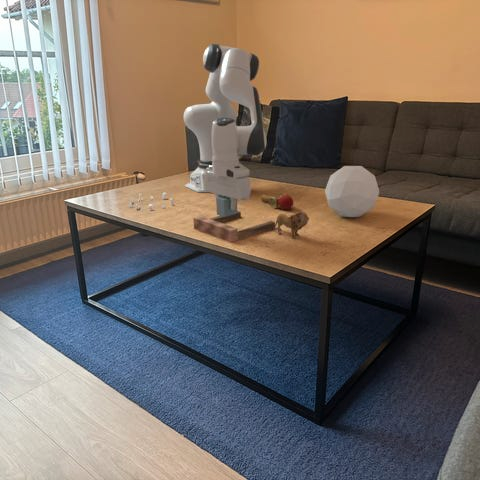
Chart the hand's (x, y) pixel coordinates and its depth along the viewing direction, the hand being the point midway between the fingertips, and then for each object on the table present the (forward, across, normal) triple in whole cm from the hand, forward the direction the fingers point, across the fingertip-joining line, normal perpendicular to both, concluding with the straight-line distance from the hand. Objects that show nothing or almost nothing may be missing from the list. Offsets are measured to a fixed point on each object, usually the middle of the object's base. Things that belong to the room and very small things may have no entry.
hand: (226, 208), depth 159 cm
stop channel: (+8, 0, +3) cm, 9 cm away
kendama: (+8, -9, +34) cm, 36 cm away
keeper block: (+2, 0, 0) cm, 2 cm away
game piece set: (+8, -49, 0) cm, 50 cm away
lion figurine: (+8, +19, +12) cm, 24 cm away
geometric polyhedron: (+8, +21, +44) cm, 49 cm away
